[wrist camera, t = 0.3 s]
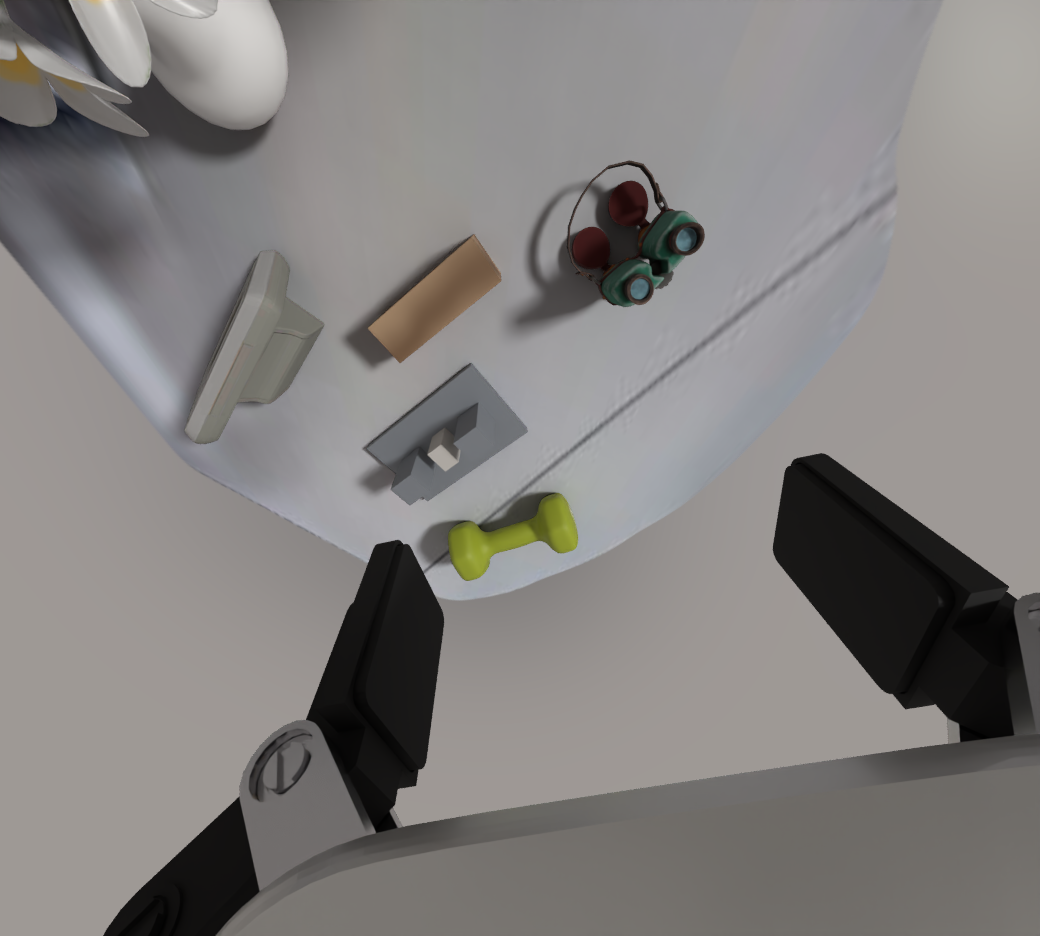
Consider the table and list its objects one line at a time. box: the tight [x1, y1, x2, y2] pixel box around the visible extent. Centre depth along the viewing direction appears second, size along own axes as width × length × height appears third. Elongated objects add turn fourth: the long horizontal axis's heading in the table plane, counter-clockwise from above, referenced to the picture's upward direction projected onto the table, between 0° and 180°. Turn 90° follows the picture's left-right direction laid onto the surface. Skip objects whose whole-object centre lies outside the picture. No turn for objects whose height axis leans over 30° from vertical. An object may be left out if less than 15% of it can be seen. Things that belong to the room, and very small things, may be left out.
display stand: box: [367, 363, 528, 505], centre depth 45 cm, size 10×16×7 cm, turn 127°
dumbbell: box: [448, 493, 578, 581], centre depth 52 cm, size 16×8×7 cm, turn 109°
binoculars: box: [567, 161, 705, 307], centre depth 33 cm, size 9×11×10 cm
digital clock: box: [184, 250, 324, 444], centre depth 36 cm, size 16×9×11 cm, turn 128°
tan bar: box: [368, 234, 501, 363], centre depth 37 cm, size 4×12×5 cm, turn 126°
